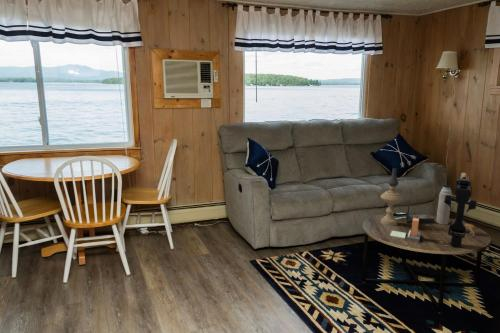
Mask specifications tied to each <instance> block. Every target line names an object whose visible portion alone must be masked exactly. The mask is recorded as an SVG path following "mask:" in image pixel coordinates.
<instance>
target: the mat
mask: <svg viewBox="0 0 500 333" xmlns="http://www.w3.org/2000/svg"><path fill="white" fill-rule="evenodd" d="M389 235H390V236H389V237H393V238H399V239H403V240H405V239H406V235H407V232H402V231H396V230H391V231H390V234H389Z"/></svg>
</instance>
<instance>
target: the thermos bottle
mask: <svg viewBox="0 0 500 333" xmlns="http://www.w3.org/2000/svg"><path fill="white" fill-rule="evenodd" d="M446 195H449V196H452V197H453V193H452V189H451V185H448V184H442V189H441V191H440V192H439V196H438V205H437V211H436V212H437V213H436V219H435V222H436V223H437V224H440V225H446V226H447V225H448V224H449V221H450V213H451V212H450V211H451V209H450V207H449V206H448V204H446V203H444V200H445V196H446Z"/></svg>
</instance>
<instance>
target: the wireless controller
mask: <svg viewBox="0 0 500 333" xmlns="http://www.w3.org/2000/svg"><path fill="white" fill-rule="evenodd" d="M410 201H411V200H408V206H407V212H406V214H405V219H406V221H405V222H406V223H412V221H413V218H418V219H419V224H434V223H435V217H432V216H431V215H430V214H429V215H428V214H427V213H416V214H415V213H414V214H412V213H410Z"/></svg>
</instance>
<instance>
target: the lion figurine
mask: <svg viewBox="0 0 500 333" xmlns="http://www.w3.org/2000/svg"><path fill="white" fill-rule="evenodd" d="M465 227H466V230H470V232H469V234H471V235H472V236H475V235H476V236H479V234H478V233H477V232H476V226H474V224H472V223H466V222H465Z"/></svg>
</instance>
